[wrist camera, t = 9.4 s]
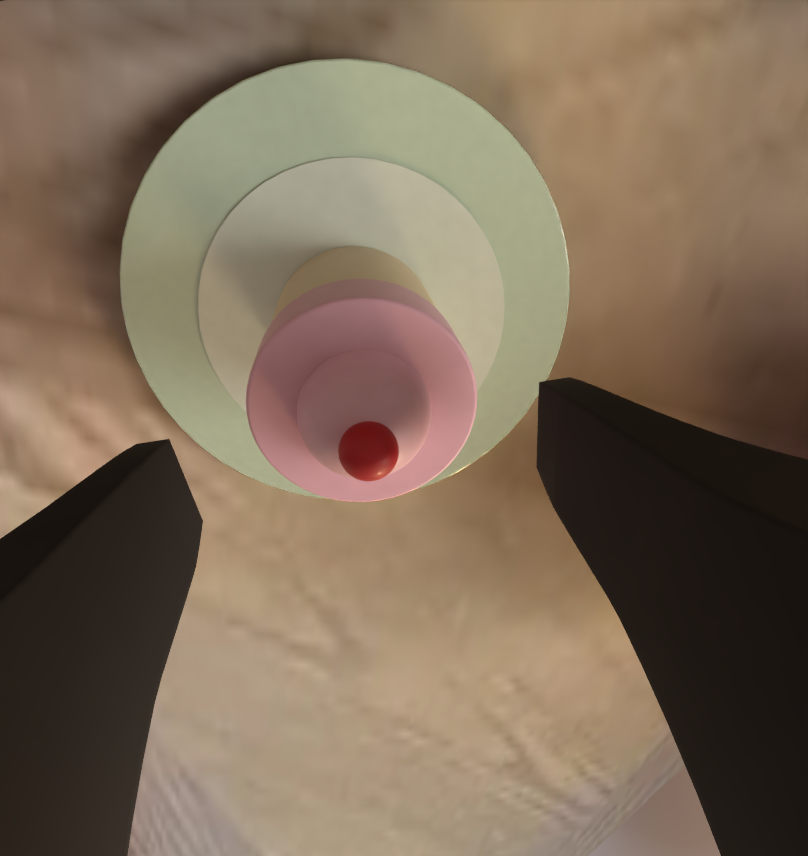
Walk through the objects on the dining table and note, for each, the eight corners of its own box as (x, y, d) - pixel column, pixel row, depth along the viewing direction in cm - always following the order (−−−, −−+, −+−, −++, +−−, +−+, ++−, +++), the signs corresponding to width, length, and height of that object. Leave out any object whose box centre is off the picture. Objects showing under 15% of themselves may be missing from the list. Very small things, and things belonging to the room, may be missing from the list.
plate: (208, 513, 20) (203, 527, 20) (42, 95, 13) (24, 94, 12) (552, 458, 21) (560, 471, 20) (574, 30, 14) (588, 25, 13)
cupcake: (292, 410, 18) (266, 586, 11) (253, 255, 15) (186, 362, 8) (442, 388, 18) (506, 546, 11) (430, 231, 15) (505, 315, 8)
